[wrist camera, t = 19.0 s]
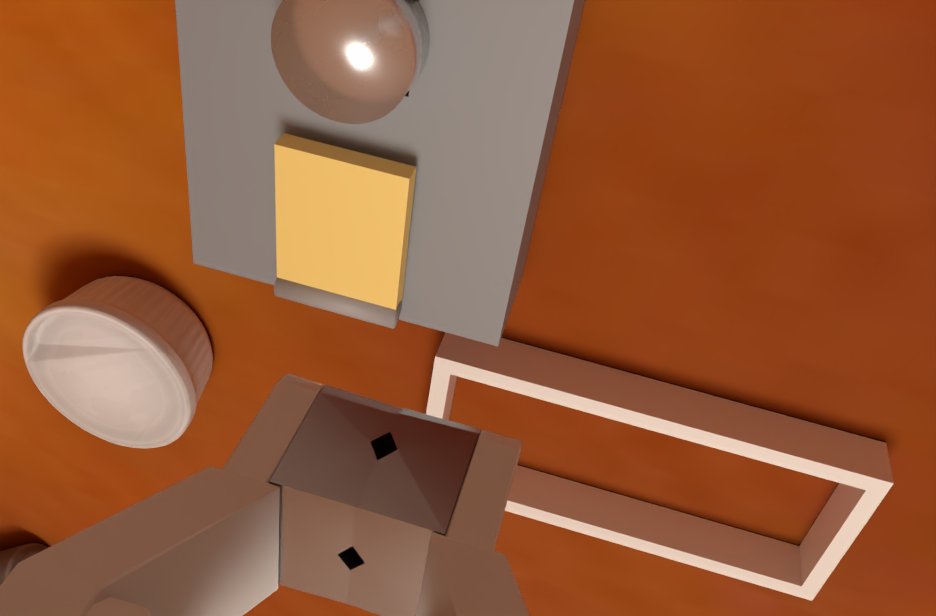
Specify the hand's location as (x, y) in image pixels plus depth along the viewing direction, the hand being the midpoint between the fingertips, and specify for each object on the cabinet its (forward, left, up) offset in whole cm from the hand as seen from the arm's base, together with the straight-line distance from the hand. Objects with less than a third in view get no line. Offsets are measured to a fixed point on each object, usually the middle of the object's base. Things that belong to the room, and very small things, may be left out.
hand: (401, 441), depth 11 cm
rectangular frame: (-8, +30, -31) cm, 44 cm away
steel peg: (+9, +6, -31) cm, 33 cm away
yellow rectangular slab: (+9, +15, -25) cm, 31 cm away
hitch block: (+9, +10, -31) cm, 34 cm away
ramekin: (+24, +32, -32) cm, 51 cm away
